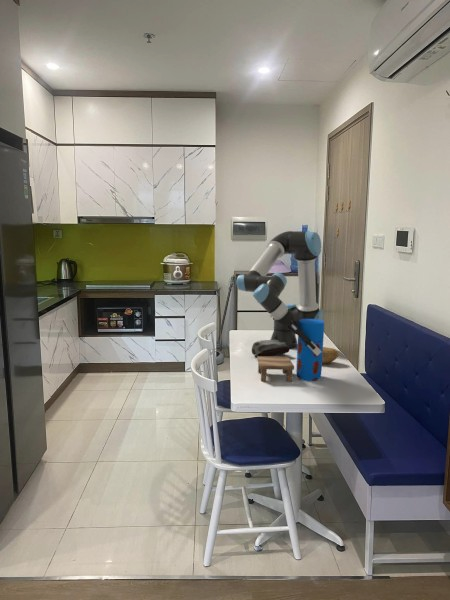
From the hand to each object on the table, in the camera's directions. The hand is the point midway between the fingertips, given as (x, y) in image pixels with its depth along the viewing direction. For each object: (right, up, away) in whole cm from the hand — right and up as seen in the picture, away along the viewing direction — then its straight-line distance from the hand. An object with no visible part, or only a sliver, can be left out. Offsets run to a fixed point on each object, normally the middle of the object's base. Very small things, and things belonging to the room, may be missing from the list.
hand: (315, 349), depth 189 cm
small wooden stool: (-18, -12, +1) cm, 22 cm away
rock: (-17, -8, +32) cm, 36 cm away
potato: (+8, -9, +23) cm, 26 cm away
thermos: (-3, -12, +2) cm, 13 cm away
